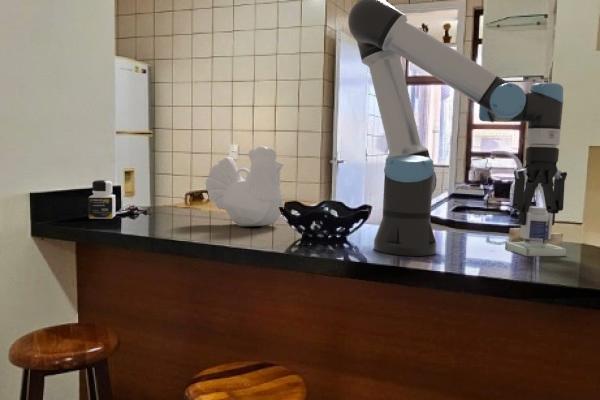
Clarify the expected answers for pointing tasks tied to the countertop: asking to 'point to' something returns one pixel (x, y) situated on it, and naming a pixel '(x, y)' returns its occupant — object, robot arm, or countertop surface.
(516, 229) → the clevis block
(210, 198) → the decorative rooster
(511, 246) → the tray
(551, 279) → the countertop surface
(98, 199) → the medicine bottle
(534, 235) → the pill bottle
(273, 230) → the countertop surface
